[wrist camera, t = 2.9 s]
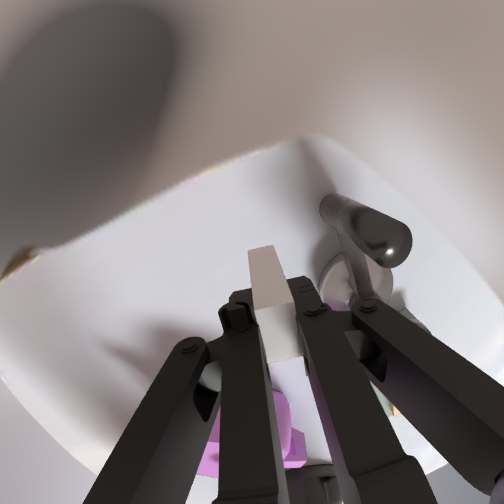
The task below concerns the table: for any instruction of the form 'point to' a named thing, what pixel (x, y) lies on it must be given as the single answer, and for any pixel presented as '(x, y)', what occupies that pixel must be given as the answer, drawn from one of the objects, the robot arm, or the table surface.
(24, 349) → the table surface
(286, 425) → the teapot
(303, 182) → the table surface
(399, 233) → the cam capstan
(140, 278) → the table surface
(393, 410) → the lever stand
